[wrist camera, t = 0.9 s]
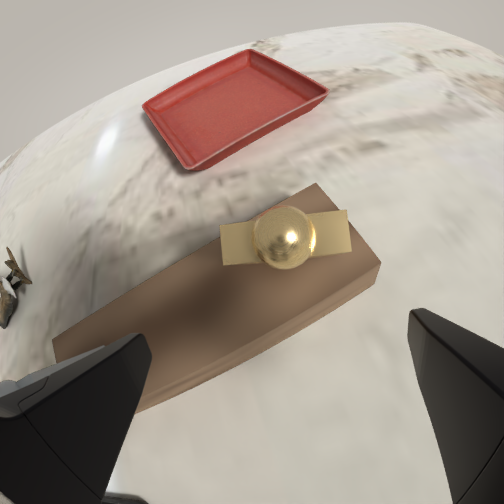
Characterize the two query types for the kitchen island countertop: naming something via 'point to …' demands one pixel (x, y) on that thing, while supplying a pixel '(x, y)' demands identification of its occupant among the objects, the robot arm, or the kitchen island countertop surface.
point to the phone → (120, 501)
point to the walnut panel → (223, 308)
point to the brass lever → (285, 237)
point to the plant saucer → (230, 107)
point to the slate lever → (39, 374)
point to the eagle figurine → (9, 289)
